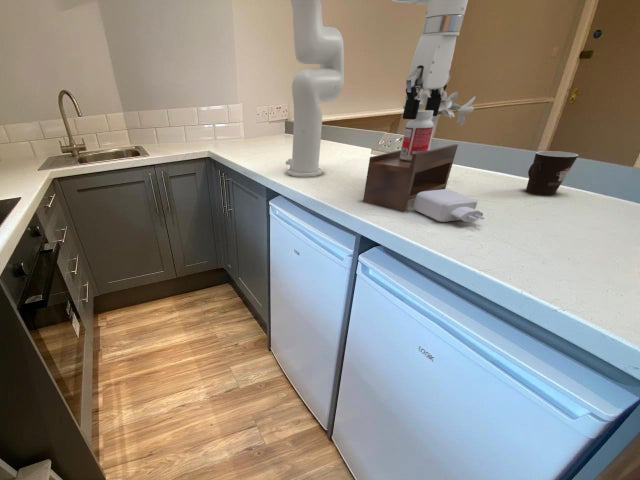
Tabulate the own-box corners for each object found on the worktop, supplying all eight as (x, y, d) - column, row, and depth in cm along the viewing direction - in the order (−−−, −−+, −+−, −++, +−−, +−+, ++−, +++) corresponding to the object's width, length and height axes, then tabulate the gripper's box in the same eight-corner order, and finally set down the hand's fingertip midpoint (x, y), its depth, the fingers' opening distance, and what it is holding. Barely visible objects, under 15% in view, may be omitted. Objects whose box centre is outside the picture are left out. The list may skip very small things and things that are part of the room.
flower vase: (457, 185, 102) (487, 88, 89) (396, 187, 103) (417, 91, 89) (436, 176, 113) (460, 88, 100) (381, 177, 114) (397, 90, 100)
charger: (457, 232, 72) (412, 211, 84) (494, 227, 73) (444, 207, 86) (464, 210, 69) (417, 192, 82) (502, 205, 71) (450, 188, 83)
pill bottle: (429, 158, 88) (441, 110, 82) (419, 162, 84) (431, 111, 78) (405, 156, 92) (415, 109, 86) (395, 159, 88) (404, 111, 82)
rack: (362, 201, 92) (371, 149, 85) (403, 188, 102) (413, 140, 95) (403, 211, 84) (416, 154, 77) (443, 195, 94) (458, 144, 87)
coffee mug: (546, 188, 97) (563, 150, 91) (567, 196, 90) (587, 156, 84) (502, 188, 98) (516, 151, 93) (520, 197, 91) (536, 157, 85)
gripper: (443, 32, 80) (423, 113, 90) (403, 28, 72) (385, 119, 81) (477, 28, 75) (452, 115, 85) (438, 24, 67) (415, 121, 76)
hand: (419, 117), depth 83 cm, fingers open, 9 cm apart
